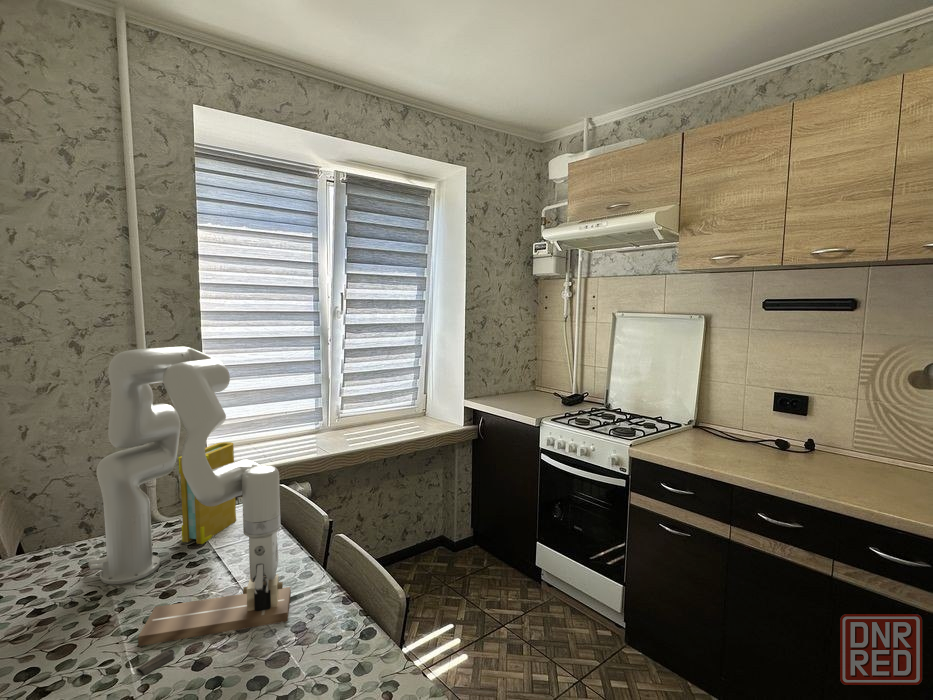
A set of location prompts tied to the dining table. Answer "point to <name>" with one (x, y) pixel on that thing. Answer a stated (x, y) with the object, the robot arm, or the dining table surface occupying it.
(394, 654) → the dining table surface
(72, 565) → the dining table surface
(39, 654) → the dining table surface
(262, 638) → the dining table surface
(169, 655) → the block
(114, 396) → the robot arm
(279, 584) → the cream knobbed box
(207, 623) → the board
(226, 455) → the book
